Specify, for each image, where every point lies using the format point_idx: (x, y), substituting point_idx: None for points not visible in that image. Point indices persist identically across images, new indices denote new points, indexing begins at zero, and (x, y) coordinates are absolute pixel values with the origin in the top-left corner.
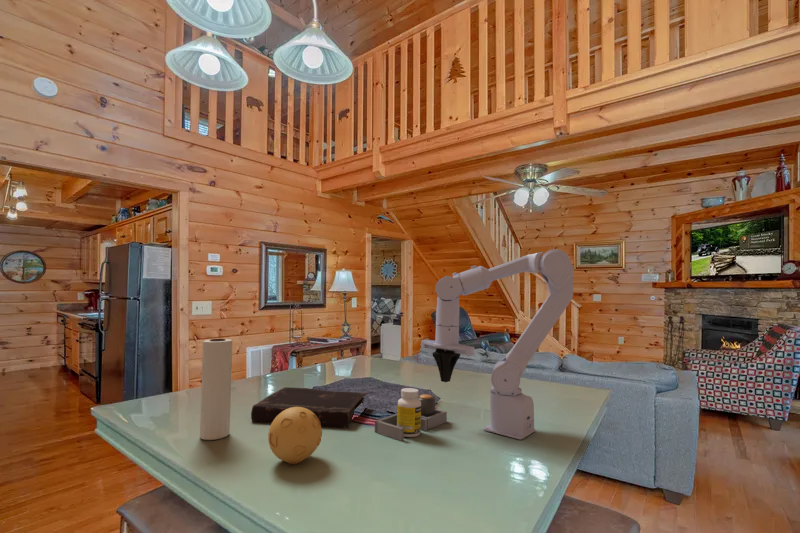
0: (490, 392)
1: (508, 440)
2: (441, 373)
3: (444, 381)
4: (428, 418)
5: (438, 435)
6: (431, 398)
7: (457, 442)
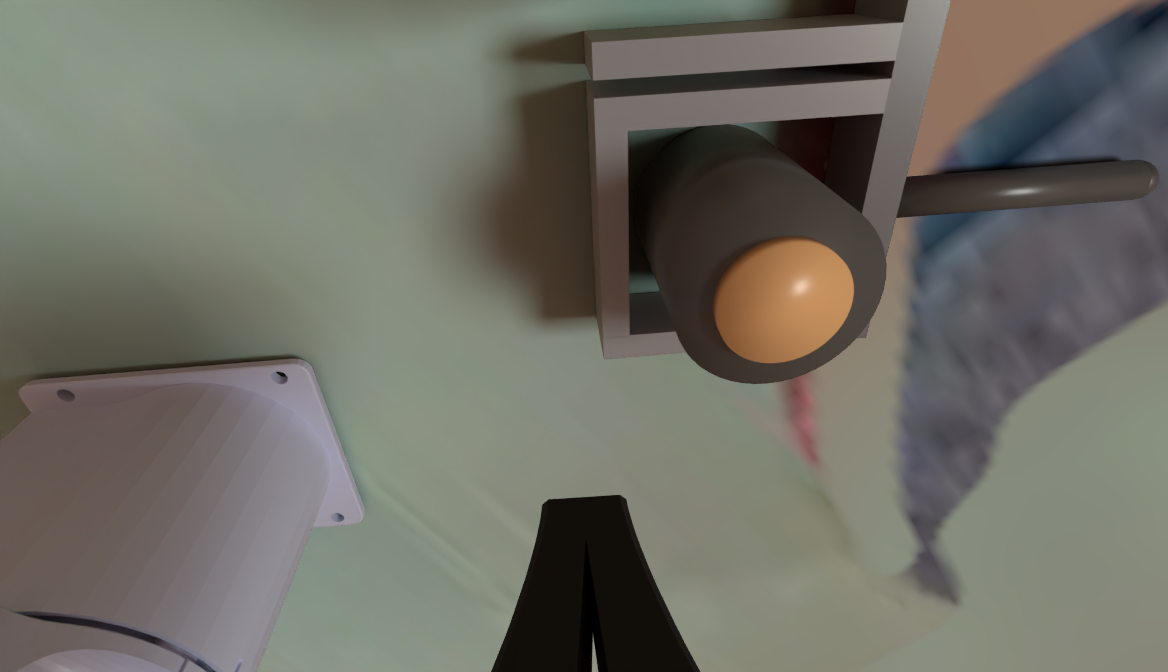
0: (161, 627)
1: (69, 333)
2: (611, 592)
3: (560, 504)
4: (595, 108)
5: (430, 36)
6: (708, 315)
7: (204, 23)
